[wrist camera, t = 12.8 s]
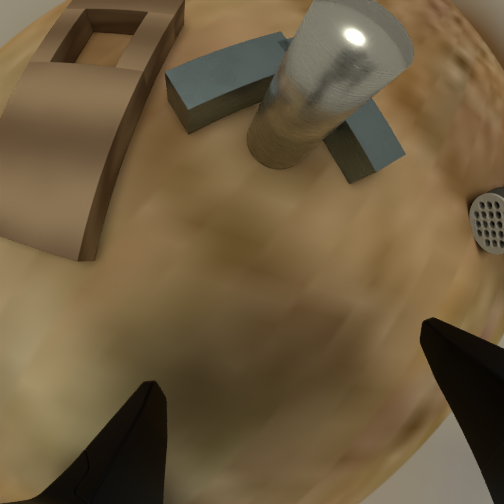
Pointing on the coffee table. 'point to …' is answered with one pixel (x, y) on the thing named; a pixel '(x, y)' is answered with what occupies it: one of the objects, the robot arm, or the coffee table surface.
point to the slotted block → (78, 123)
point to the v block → (254, 89)
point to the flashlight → (489, 220)
